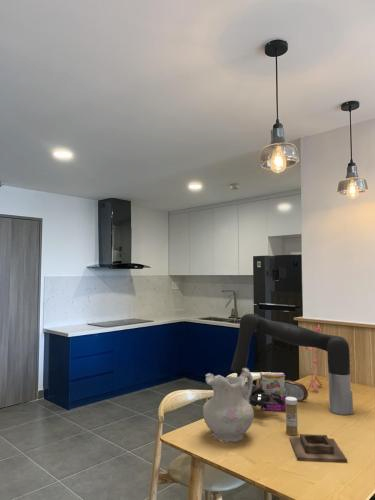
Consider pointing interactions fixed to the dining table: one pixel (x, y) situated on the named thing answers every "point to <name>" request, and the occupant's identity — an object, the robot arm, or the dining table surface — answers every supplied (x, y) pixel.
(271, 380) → the candy bar box
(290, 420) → the spice jar
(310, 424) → the dining table surface
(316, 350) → the pink branching piece
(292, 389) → the grey brown oval slab
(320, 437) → the walnut stand
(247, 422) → the ceramic pitcher
